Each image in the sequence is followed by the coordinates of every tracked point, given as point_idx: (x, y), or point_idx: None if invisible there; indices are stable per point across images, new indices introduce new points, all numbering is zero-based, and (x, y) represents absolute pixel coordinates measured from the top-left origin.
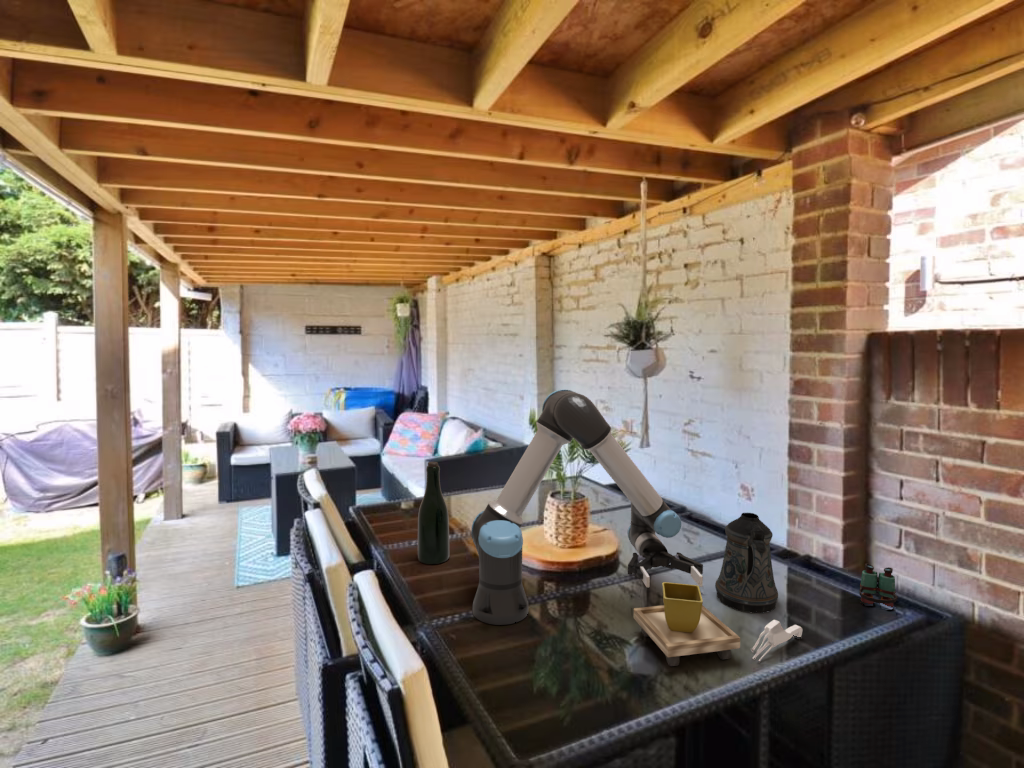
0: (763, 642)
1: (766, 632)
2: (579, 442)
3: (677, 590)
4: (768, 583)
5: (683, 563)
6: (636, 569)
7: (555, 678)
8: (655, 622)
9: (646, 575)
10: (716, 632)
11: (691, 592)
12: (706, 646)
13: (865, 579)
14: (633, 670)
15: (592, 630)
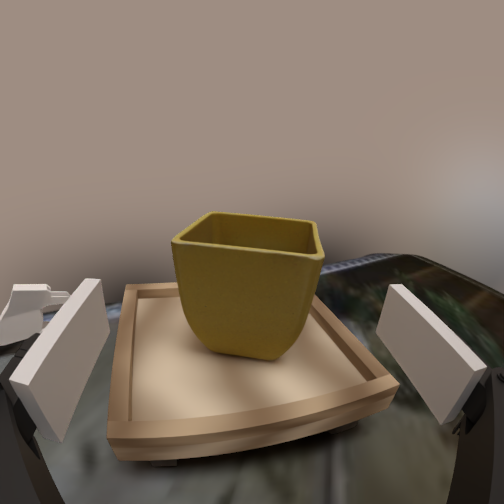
0: None
1: (47, 302)
2: None
3: (255, 274)
4: None
5: (34, 486)
6: (489, 368)
7: (440, 305)
8: (320, 355)
9: (408, 293)
10: (156, 318)
11: (199, 270)
12: None
13: None
14: (348, 323)
15: (462, 412)
